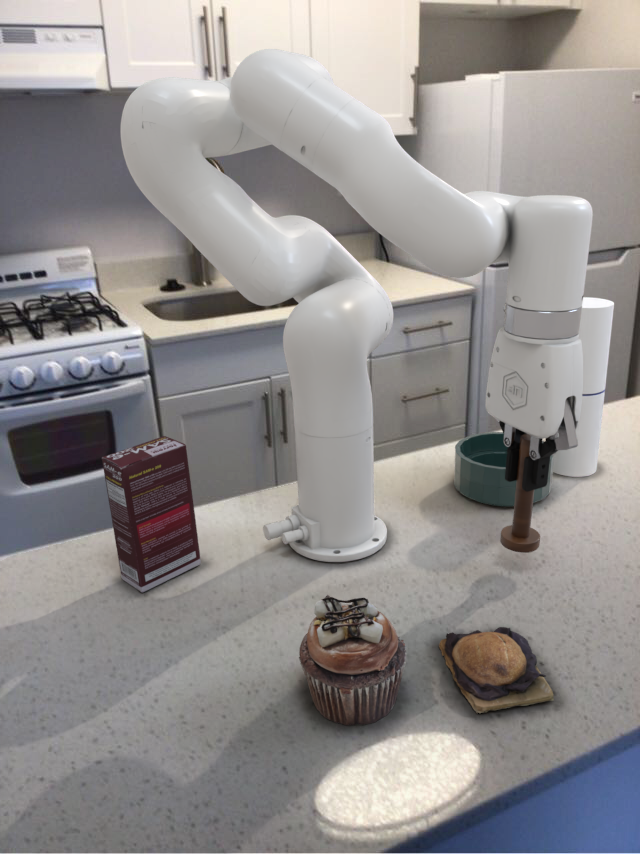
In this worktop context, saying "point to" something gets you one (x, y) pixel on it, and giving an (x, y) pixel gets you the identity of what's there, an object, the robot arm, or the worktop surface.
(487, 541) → the worktop surface
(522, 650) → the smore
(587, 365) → the cylindrical container
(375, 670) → the cupcake
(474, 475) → the bowl
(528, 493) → the paper towel holder
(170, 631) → the worktop surface
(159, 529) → the supplement box
